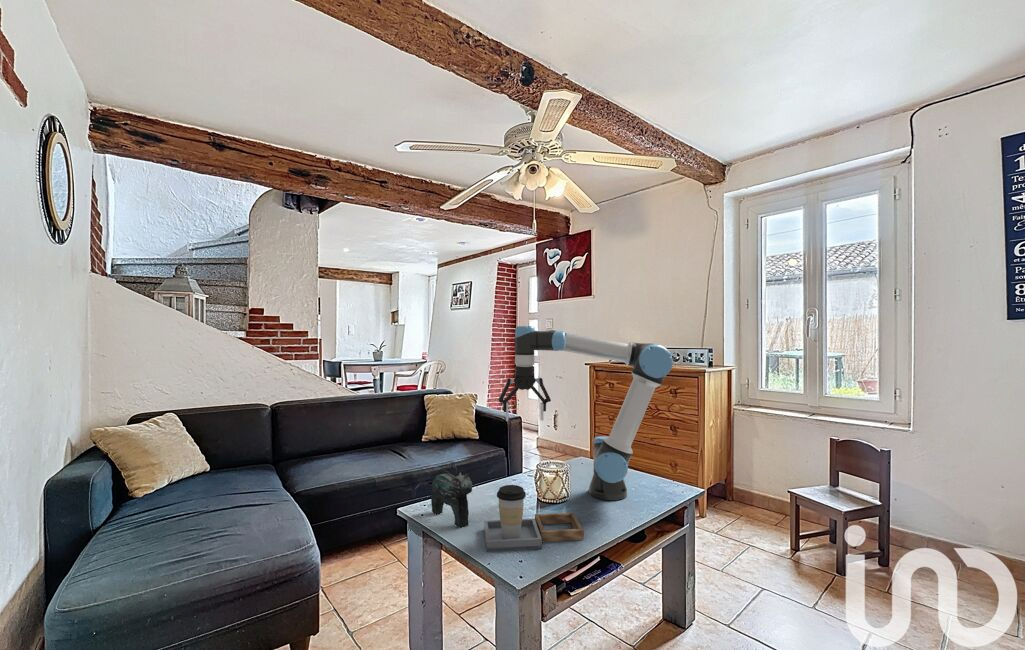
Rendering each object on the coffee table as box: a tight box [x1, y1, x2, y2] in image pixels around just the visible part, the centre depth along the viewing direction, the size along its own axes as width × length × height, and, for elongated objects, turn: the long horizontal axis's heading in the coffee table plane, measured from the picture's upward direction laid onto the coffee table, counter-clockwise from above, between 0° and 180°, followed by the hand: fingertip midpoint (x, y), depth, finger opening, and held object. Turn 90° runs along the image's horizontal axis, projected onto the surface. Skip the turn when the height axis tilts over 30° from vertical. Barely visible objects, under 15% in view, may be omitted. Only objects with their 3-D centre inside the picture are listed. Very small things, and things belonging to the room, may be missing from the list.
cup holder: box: [534, 512, 585, 543], centre depth 154 cm, size 14×14×3 cm
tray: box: [483, 518, 543, 552], centre depth 148 cm, size 17×15×3 cm
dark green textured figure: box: [430, 463, 473, 529], centre depth 162 cm, size 20×6×20 cm, turn 43°
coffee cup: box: [496, 484, 527, 539], centre depth 148 cm, size 9×9×15 cm
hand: (524, 420), depth 178 cm, fingers open, 13 cm apart
